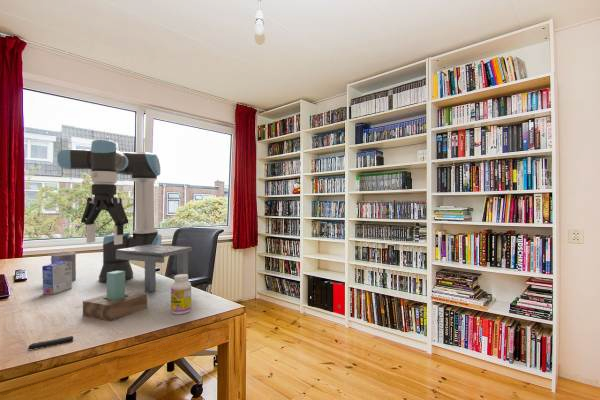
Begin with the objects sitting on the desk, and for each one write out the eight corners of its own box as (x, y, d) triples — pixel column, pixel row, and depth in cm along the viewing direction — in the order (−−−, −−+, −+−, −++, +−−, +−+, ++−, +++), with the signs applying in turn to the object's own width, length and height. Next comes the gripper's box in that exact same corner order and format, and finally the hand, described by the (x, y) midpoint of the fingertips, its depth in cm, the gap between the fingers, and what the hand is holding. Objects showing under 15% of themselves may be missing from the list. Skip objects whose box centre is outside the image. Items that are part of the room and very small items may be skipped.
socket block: (82, 315, 105) (82, 301, 105) (120, 303, 118) (120, 290, 118) (111, 321, 100) (111, 305, 100) (147, 307, 113) (147, 293, 113)
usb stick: (73, 339, 87) (73, 334, 87) (73, 343, 85) (73, 337, 85) (30, 348, 82) (30, 342, 82) (28, 352, 80) (28, 346, 80)
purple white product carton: (56, 279, 155) (56, 250, 155) (79, 278, 158) (78, 249, 158) (47, 284, 146) (47, 253, 146) (71, 282, 149) (71, 252, 149)
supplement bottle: (166, 313, 107) (166, 276, 107) (182, 307, 113) (182, 272, 113) (180, 316, 104) (180, 278, 104) (195, 310, 110) (195, 274, 110)
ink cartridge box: (61, 287, 140) (61, 256, 140) (72, 288, 139) (72, 256, 140) (41, 294, 130) (41, 260, 130) (53, 294, 130) (53, 260, 130)
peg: (106, 312, 108) (106, 272, 108) (117, 308, 111) (117, 270, 112) (114, 314, 106) (114, 273, 106) (125, 310, 110) (125, 271, 110)
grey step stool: (115, 300, 122) (115, 249, 122) (148, 289, 136) (148, 244, 137) (161, 307, 113) (161, 253, 113) (191, 295, 128) (191, 247, 128)
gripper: (69, 184, 110) (69, 243, 110) (120, 182, 101) (120, 246, 102) (89, 184, 117) (90, 240, 117) (139, 183, 109) (139, 243, 109)
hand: (104, 243), depth 109 cm, fingers open, 13 cm apart
